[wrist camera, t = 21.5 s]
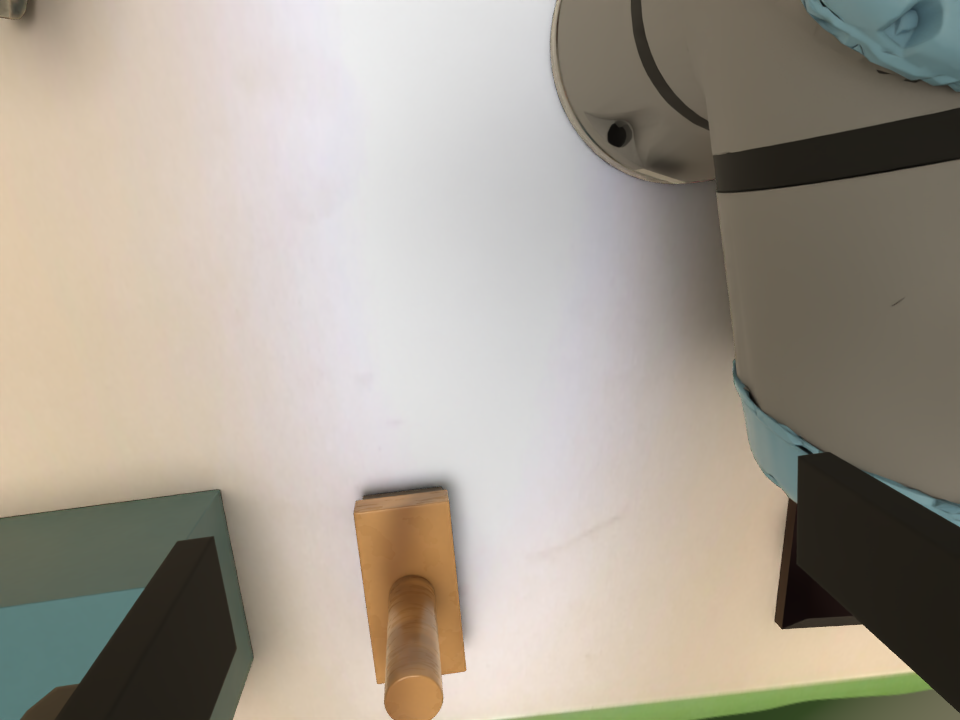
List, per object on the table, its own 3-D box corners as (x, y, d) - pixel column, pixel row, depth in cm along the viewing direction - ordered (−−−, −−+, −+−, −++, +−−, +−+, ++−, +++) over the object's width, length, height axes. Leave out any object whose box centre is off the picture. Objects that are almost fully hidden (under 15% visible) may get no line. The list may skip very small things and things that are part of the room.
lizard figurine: (776, 425, 45) (847, 466, 37) (1051, 418, 47) (1167, 456, 40) (754, 622, 48) (816, 695, 41) (1013, 607, 50) (1114, 674, 43)
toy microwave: (220, 488, 42) (155, 585, 31) (257, 674, 45) (210, 820, 34) (-91, 529, 40) (-270, 646, 29) (-30, 718, 43) (-173, 886, 32)
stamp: (445, 479, 43) (461, 583, 31) (462, 639, 46) (482, 792, 34) (357, 490, 43) (338, 600, 31) (378, 651, 45) (369, 810, 33)
